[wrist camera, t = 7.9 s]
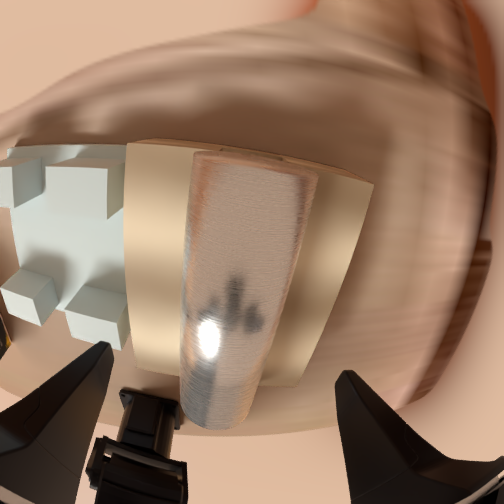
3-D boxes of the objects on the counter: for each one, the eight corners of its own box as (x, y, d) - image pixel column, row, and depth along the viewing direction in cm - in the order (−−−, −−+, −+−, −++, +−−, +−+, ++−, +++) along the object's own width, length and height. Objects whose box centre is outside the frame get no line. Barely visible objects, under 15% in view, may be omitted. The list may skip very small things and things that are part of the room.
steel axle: (248, 377, 17) (252, 432, 13) (184, 370, 17) (176, 425, 13) (302, 164, 11) (337, 186, 7) (201, 147, 11) (182, 160, 7)
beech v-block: (288, 348, 21) (296, 387, 17) (150, 330, 20) (136, 367, 16) (344, 169, 15) (374, 184, 11) (154, 138, 14) (127, 142, 10)
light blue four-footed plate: (138, 323, 19) (123, 358, 16) (33, 295, 18) (11, 320, 15) (138, 145, 14) (108, 152, 10) (14, 146, 13) (-21, 156, 9)
